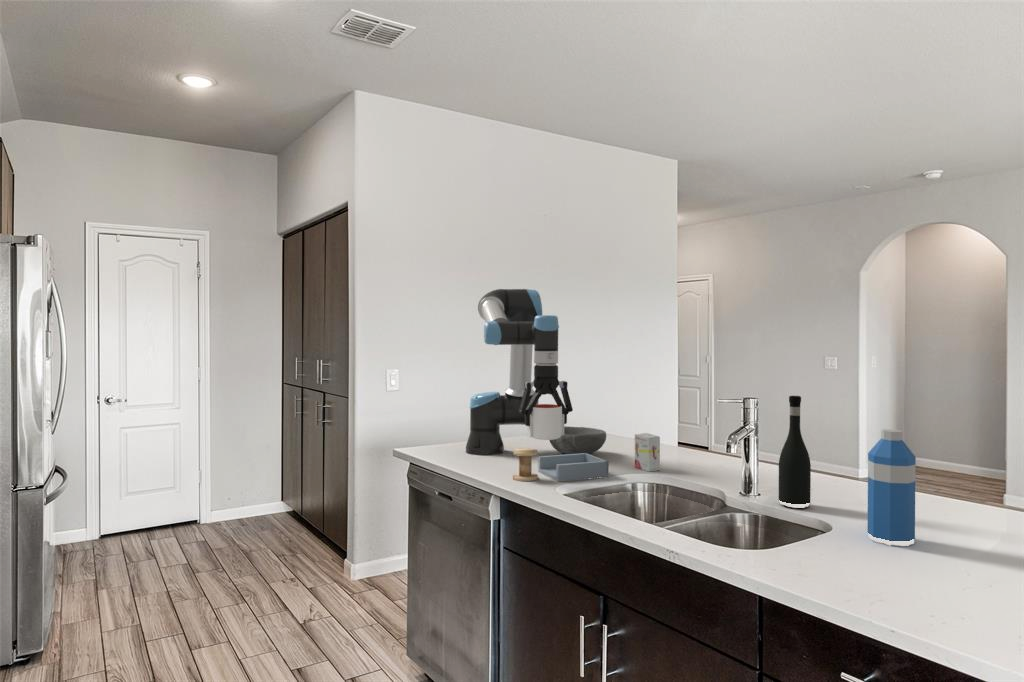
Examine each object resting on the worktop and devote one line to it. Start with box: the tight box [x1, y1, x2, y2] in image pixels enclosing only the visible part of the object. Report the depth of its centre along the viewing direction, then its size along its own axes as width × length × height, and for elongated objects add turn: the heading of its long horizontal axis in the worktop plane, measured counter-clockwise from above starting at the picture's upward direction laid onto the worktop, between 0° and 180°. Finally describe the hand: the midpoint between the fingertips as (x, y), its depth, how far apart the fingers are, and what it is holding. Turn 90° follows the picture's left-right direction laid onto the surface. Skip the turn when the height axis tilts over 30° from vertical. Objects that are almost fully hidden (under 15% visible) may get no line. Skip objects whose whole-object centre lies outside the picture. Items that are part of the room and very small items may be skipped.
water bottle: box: [867, 428, 917, 541], centre depth 149 cm, size 9×9×25 cm
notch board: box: [537, 453, 610, 483], centre depth 218 cm, size 16×18×5 cm
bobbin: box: [512, 448, 539, 482], centre depth 212 cm, size 8×8×9 cm
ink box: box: [634, 432, 661, 473], centre depth 228 cm, size 9×5×12 cm, turn 25°
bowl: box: [548, 425, 607, 455], centre depth 253 cm, size 23×22×10 cm
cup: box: [530, 403, 562, 441], centre depth 206 cm, size 10×10×10 cm
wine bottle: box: [778, 395, 812, 504], centre depth 179 cm, size 8×8×30 cm
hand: (545, 435), depth 206 cm, fingers closed on cup, 10 cm apart
